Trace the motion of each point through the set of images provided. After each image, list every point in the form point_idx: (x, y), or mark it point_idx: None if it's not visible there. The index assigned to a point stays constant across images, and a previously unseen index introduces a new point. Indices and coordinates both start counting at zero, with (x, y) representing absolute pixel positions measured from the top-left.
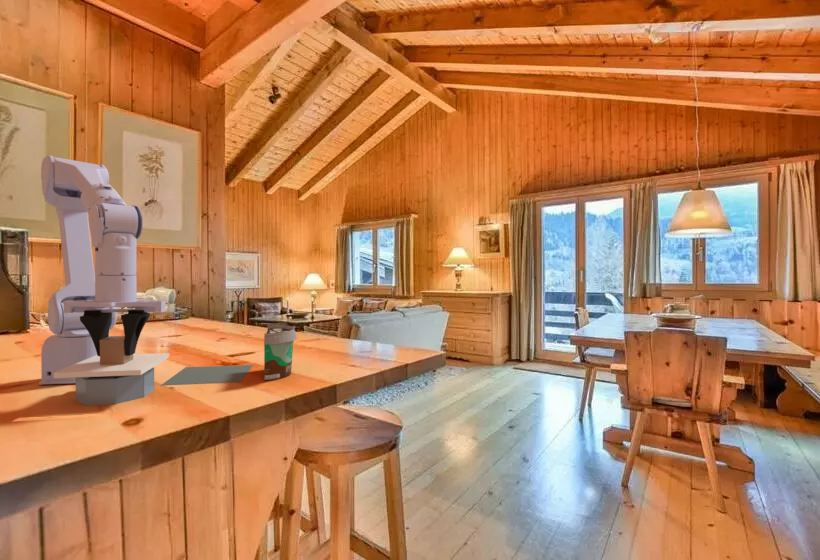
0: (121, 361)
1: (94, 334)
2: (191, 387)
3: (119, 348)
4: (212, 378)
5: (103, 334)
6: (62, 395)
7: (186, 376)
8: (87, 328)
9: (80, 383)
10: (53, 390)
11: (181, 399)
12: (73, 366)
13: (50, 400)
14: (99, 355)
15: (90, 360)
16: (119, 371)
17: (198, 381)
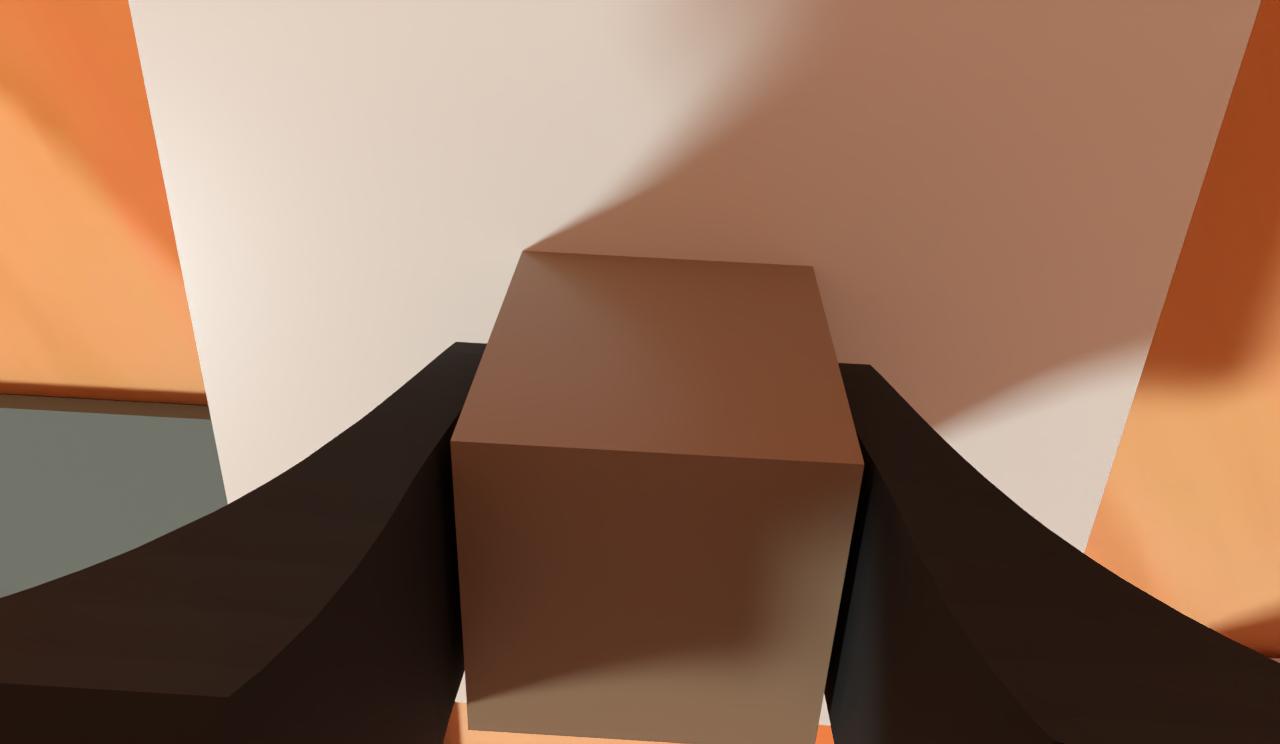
0: (545, 269)
1: (977, 533)
2: (152, 384)
3: (542, 357)
4: (56, 541)
5: (867, 655)
6: (1162, 372)
7: None
8: (1157, 608)
9: None
10: (1271, 523)
11: (34, 20)
12: (1123, 243)
13: (1221, 246)
14: (848, 363)
15: None
16: None
17: (128, 476)
